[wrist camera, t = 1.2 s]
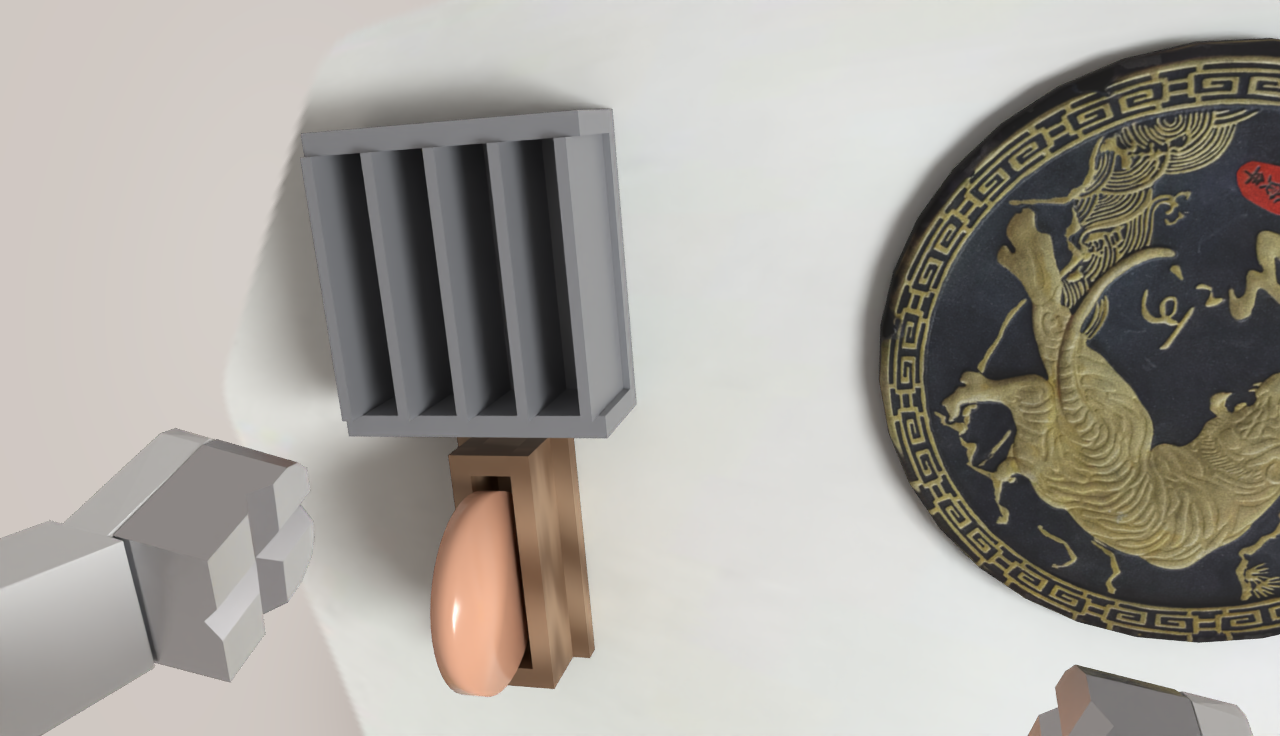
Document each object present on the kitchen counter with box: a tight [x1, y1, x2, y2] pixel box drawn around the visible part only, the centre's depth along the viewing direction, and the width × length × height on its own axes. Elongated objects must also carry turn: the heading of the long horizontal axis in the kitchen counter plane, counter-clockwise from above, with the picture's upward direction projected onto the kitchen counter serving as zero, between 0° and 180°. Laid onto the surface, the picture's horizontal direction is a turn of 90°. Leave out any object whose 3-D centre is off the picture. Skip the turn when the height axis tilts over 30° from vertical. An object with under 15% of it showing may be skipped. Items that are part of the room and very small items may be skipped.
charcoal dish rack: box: [300, 109, 636, 438], centre depth 52 cm, size 16×15×7 cm
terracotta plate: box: [430, 491, 529, 697], centre depth 53 cm, size 11×1×11 cm, turn 4°
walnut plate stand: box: [448, 437, 595, 689], centre depth 57 cm, size 14×7×4 cm, turn 4°
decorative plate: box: [879, 38, 1280, 643], centre depth 47 cm, size 30×2×30 cm
